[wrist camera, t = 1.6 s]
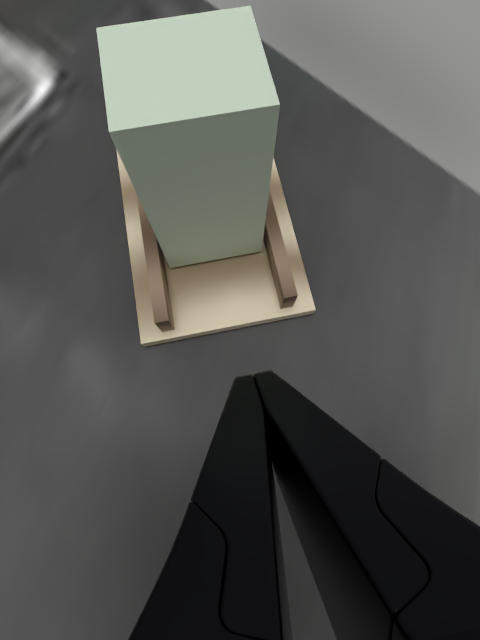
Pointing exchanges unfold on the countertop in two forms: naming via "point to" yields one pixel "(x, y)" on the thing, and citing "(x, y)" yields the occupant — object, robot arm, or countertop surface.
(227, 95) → the sage block
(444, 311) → the countertop surface
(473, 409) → the countertop surface
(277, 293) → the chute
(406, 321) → the countertop surface
